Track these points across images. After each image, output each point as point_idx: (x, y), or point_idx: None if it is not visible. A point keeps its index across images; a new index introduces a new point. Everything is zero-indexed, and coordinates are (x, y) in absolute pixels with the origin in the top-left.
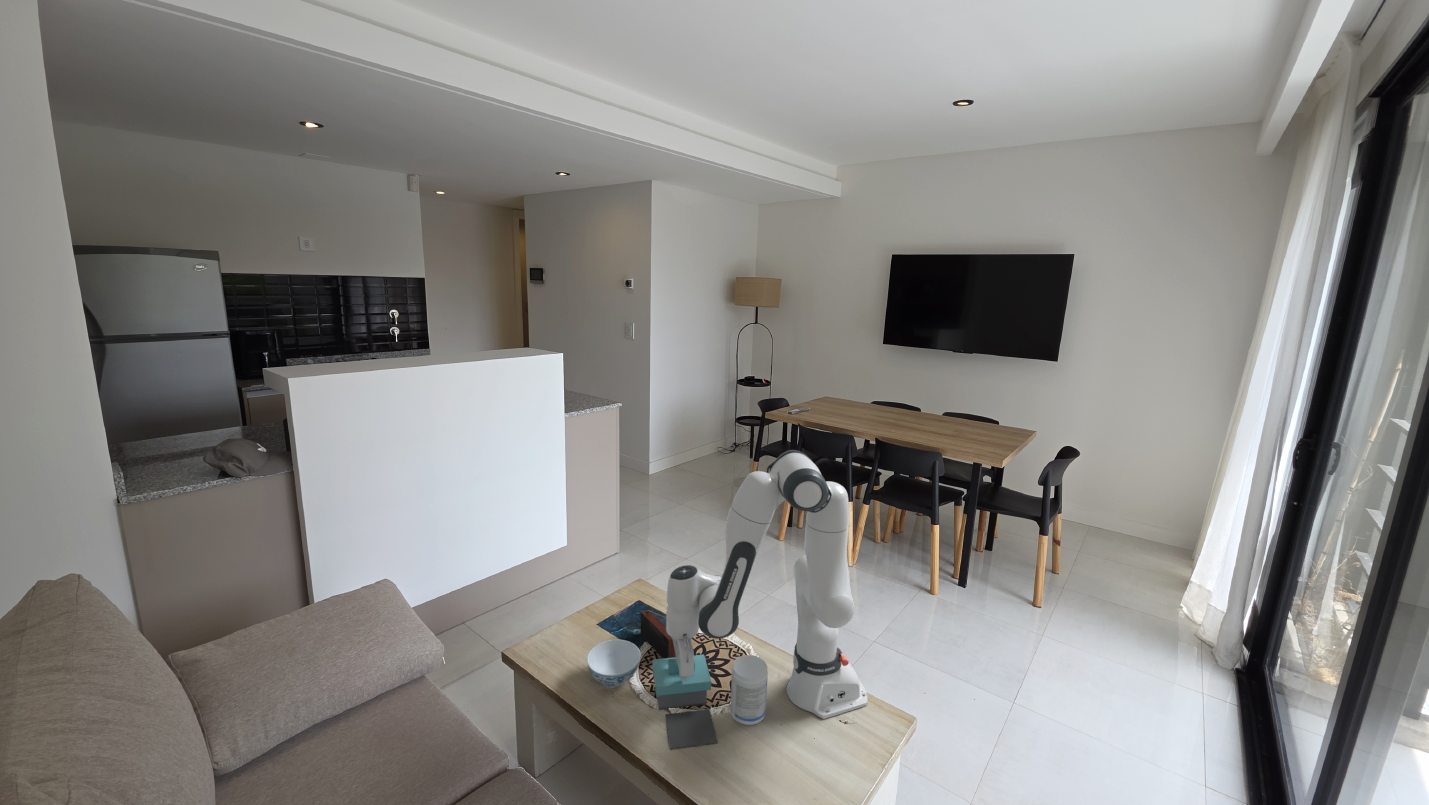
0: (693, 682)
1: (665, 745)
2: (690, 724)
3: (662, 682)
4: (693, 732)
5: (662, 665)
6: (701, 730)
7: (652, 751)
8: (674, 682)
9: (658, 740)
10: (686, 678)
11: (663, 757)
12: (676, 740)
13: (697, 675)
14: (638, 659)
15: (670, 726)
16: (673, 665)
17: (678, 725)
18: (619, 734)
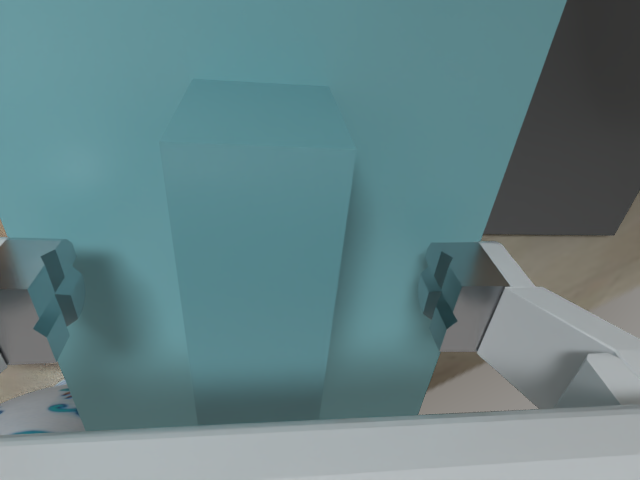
0: (505, 141)
1: (573, 247)
2: (538, 108)
3: (381, 384)
4: (603, 103)
5: (166, 377)
6: (623, 45)
7: (568, 295)
8: (420, 313)
9: (530, 270)
10: (504, 255)
11: (623, 260)
12: (591, 203)
13: (409, 58)
14: None
15: (493, 219)
16: (318, 406)
17: (509, 179)
18: (428, 385)
